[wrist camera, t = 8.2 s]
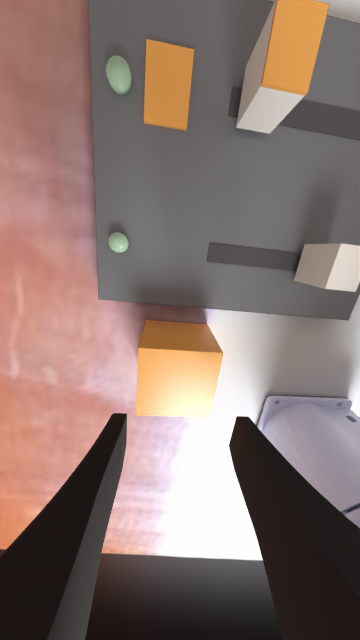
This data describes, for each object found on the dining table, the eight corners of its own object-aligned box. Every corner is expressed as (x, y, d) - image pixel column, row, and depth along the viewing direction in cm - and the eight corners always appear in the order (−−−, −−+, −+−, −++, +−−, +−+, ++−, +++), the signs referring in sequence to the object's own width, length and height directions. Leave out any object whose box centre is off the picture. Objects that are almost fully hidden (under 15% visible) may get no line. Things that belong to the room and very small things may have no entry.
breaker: (331, 247, 14) (374, 247, 11) (319, 283, 15) (355, 291, 12) (304, 244, 14) (341, 243, 11) (293, 280, 14) (324, 288, 12)
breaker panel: (428, 72, 12) (476, 41, 10) (333, 314, 18) (353, 322, 16) (97, -7, 10) (82, -63, 8) (104, 294, 16) (96, 301, 14)
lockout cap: (207, 324, 17) (223, 353, 12) (198, 375, 19) (209, 417, 14) (146, 319, 17) (138, 348, 12) (143, 372, 18) (135, 415, 14)
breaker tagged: (281, 74, 10) (329, 4, 7) (269, 133, 11) (307, 92, 8) (245, 66, 10) (279, -9, 7) (236, 127, 11) (262, 82, 8)
